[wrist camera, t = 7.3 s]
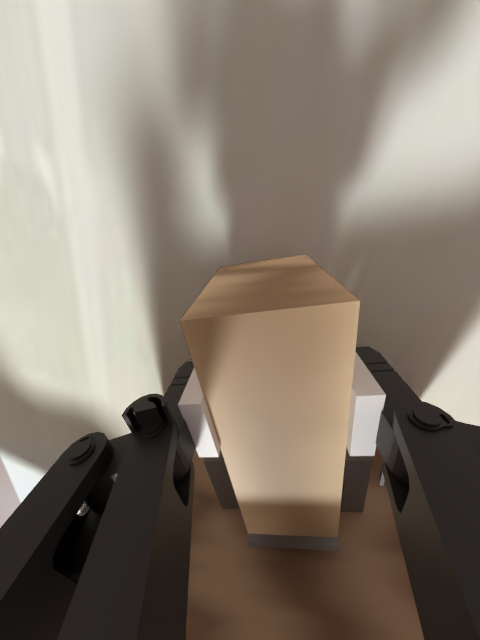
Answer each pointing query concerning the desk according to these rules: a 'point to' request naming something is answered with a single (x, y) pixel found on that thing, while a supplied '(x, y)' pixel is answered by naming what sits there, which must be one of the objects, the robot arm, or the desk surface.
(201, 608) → the wooden u-shaped stand
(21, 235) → the desk surface
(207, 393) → the tan rectangular block
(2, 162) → the desk surface
